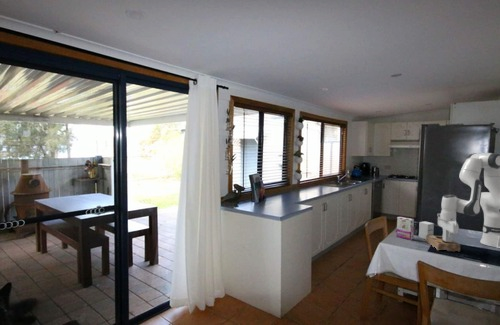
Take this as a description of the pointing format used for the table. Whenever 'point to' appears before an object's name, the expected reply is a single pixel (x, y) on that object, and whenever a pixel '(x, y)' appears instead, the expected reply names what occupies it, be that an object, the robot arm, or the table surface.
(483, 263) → the table surface
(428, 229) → the supplement box
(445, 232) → the plug
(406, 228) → the candy bar box
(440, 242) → the socket block
